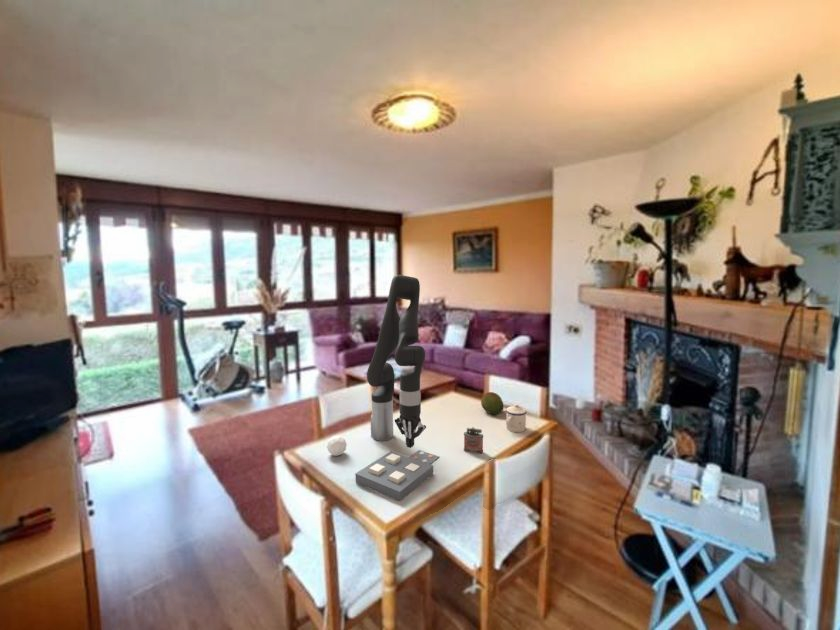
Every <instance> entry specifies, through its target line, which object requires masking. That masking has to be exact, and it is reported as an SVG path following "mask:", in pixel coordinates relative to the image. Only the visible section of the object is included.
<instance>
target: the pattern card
mask: <svg viewBox="0 0 840 630" xmlns="http://www.w3.org/2000/svg"><path fill="white" fill-rule="evenodd" d="M408 457H410V458H413V459H416V460H419V461H422V462H424V463H427V464H430V465H432V464H433V463H434V462H435V461H437V459H439V458H440V456H438V455H436V454H432V453H429V452H426V451H424V450H421V449H418V450H417V451H415V452H414V453H412V454H411V455H409V456H408Z"/></svg>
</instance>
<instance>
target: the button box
mask: <svg viewBox="0 0 840 630" xmlns="http://www.w3.org/2000/svg"><path fill="white" fill-rule="evenodd" d="M391 454H395V455H398V456H400V457H401V461H400V462H398V463H397V464H395V465H392V464H389V463H386V457H387V456H389V455H391ZM411 463H413V464H415V465H418V466H420V468H419V469H418V470H417V471H415V472H411V471H408V470H406V469H405V467H406V466H408V465H409V464H411ZM375 464H380V465H382V466H385V472H384V473H382V474H381V475H379V476H376V475H373V474H371V473H369V468H370V467H372V466H373V465H375ZM395 471H398V472H401V473H404V474H405V480H403V481H402V482H401V483H399V484H396V483H393V482H391V481H389V475H391V474H392V473H393V472H395ZM433 475H434V465H432V464H427V463H424V462H422V461H419V460H416V459H413V458H410V457H409V456H406V455H404V454H401V453H398V452H395V451H393V450H390V451H389V452H387V453H386V454H384V455H382V456H381V457H379V458H378V459H376V460H375V461H373V462H371V463H370V464H368V465H366V466H365V467H363V468H362V469H360V470H359V471H357V472H356V473H355V476H354V477H355V483H356V484H357V485H360V486H363V487H364V488H367V489H369V490H372V491H374V492H376V493H379V494H381V495H383V496H385V497H388V498H391V499H393V500H395V501H398V502H401V501H403V500H404V499H405V498H407V496H409V495H410V494H412V492H414V491H415V490H416V489H418V488H419V487H420V486H421V485H422V484H423V483H425V482H426V481H427V480H429V479H430V478H431V477H433ZM429 477H430V478H429Z"/></svg>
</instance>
